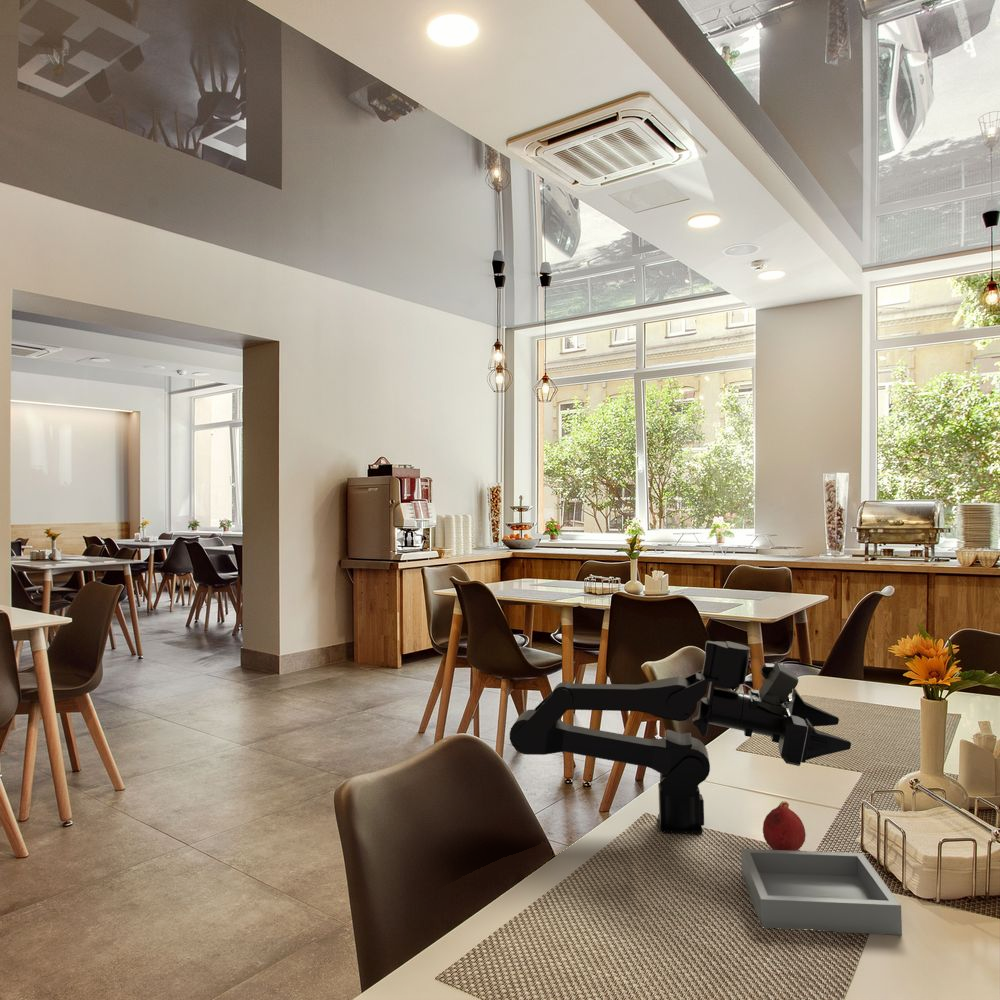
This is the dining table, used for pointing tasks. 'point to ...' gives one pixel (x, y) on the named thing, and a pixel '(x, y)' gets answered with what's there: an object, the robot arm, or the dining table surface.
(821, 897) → the tray
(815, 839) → the dining table surface
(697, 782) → the robot arm
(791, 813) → the onion
